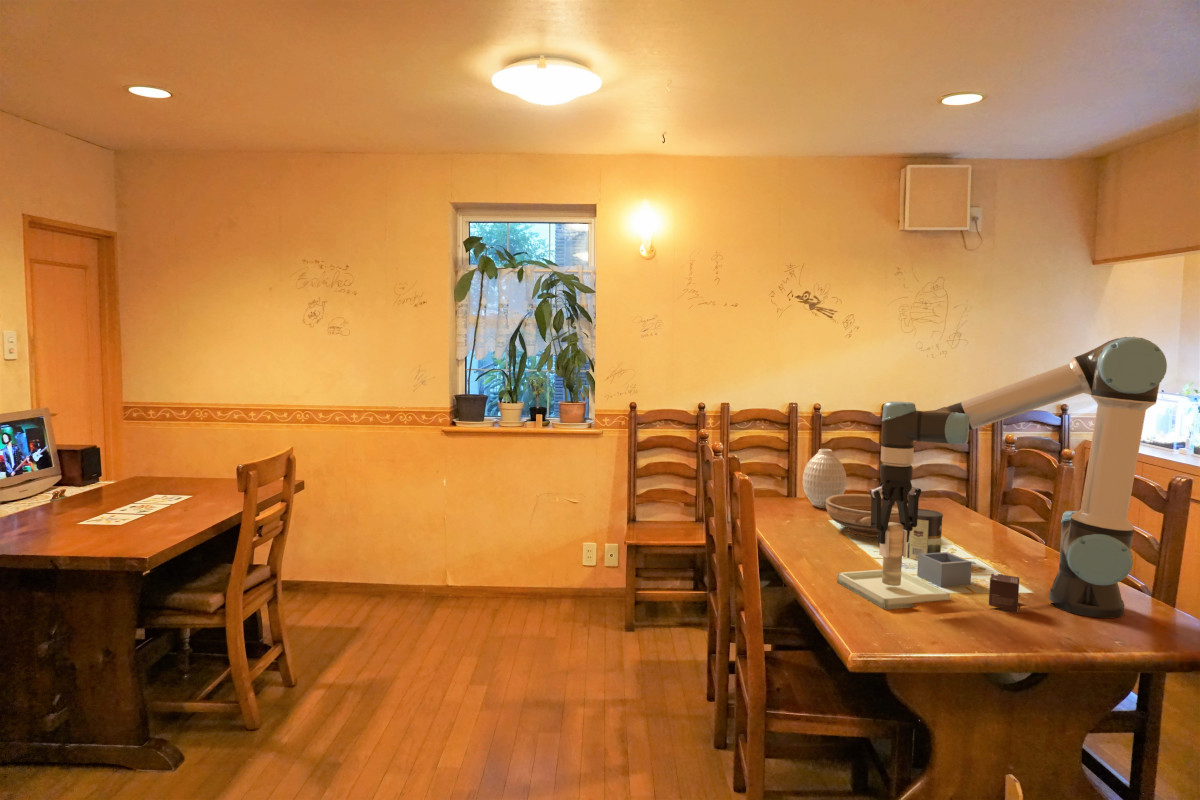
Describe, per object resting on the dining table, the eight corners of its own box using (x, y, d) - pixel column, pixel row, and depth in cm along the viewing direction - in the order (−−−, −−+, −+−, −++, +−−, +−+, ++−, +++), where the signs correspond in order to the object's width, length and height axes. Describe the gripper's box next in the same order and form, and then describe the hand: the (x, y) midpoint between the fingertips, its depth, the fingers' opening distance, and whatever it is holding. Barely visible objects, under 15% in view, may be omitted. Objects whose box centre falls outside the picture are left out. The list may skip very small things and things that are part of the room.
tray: (949, 603, 175) (949, 593, 175) (884, 609, 171) (885, 598, 171) (896, 577, 195) (896, 568, 194) (837, 582, 190) (837, 572, 190)
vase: (804, 510, 274) (806, 451, 272) (799, 501, 290) (801, 446, 288) (848, 512, 271) (851, 453, 270) (841, 502, 287) (843, 447, 286)
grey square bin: (970, 588, 187) (971, 561, 186) (940, 590, 185) (941, 564, 184) (945, 577, 196) (946, 551, 195) (917, 579, 193) (918, 553, 193)
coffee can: (935, 556, 216) (937, 509, 215) (944, 566, 206) (947, 517, 204) (898, 553, 218) (901, 507, 217) (906, 563, 208) (908, 515, 207)
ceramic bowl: (923, 551, 221) (924, 518, 220) (825, 542, 229) (826, 511, 228) (908, 522, 256) (909, 494, 255) (823, 516, 264) (824, 489, 264)
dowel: (904, 585, 181) (907, 526, 180) (889, 586, 180) (891, 527, 179) (893, 579, 185) (896, 521, 184) (878, 580, 184) (880, 522, 183)
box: (1017, 614, 169) (1018, 583, 168) (988, 609, 172) (989, 579, 172) (1018, 606, 174) (1019, 576, 174) (989, 601, 177) (991, 572, 177)
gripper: (916, 460, 186) (912, 549, 188) (856, 462, 182) (853, 553, 184) (936, 465, 179) (932, 557, 181) (875, 467, 174) (871, 562, 176)
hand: (892, 555), depth 182 cm, fingers closed on dowel, 4 cm apart
